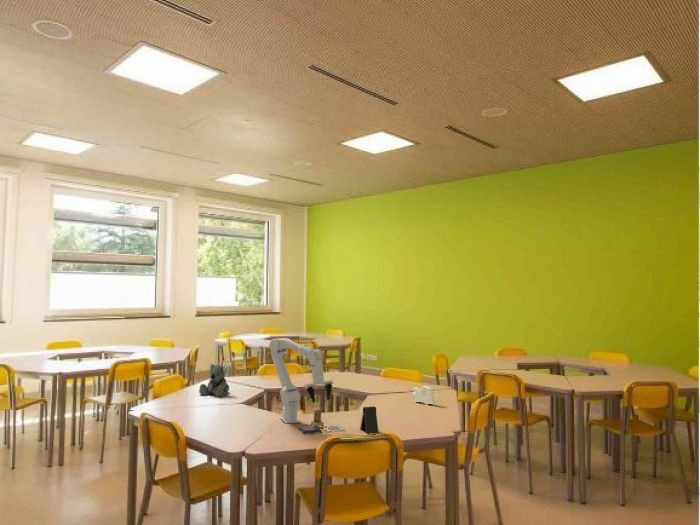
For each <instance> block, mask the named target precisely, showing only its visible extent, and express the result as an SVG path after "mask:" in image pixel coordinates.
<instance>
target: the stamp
mask: <svg viewBox="0 0 700 525" xmlns="http://www.w3.org/2000/svg"><path fill="white" fill-rule="evenodd" d="M313 410H314V411H313V420H311V422H310V426H312V425H313V426H314V425H315V426H317V427H318V426H324V421H322V409H321V408H315V409H313ZM318 428H319V427H318Z"/></svg>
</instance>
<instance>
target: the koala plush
mask: <svg viewBox="0 0 700 525" xmlns="http://www.w3.org/2000/svg"><path fill="white" fill-rule="evenodd" d="M208 368H209V374H210V375H209V376H210V377H209V378H210V380H209V381H208V383H207V385H206V384H205V383H202V384H200V386H199V389H198V390H199V391H198V393H199V394H200V395H201V396H208V395H209V396H210V395H214V396H215V397H217V398H219V397H223V396H226V395H227V394H228V393H229V391H230V386H229V384H228V383H227V379H226V378H225V377H226V376H227V375H228V374H230V370H231V369H230V366H229V365H227V364H226V365H225V364H224V365H220V364H214V363H209V365H208Z"/></svg>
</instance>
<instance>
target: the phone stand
mask: <svg viewBox="0 0 700 525" xmlns="http://www.w3.org/2000/svg"><path fill="white" fill-rule="evenodd" d="M361 416H362V418H361V422H360V427H359V430H360V431H361V430H362V431H361V432H363V431H364V432H365V434H366V433H367V434H366V435H370V434H369V433H377V434H379V433H380V432H379V425H378V416H377V408H376V406H364V407H363V408H362V414H361ZM364 432H363V433H364Z"/></svg>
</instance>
